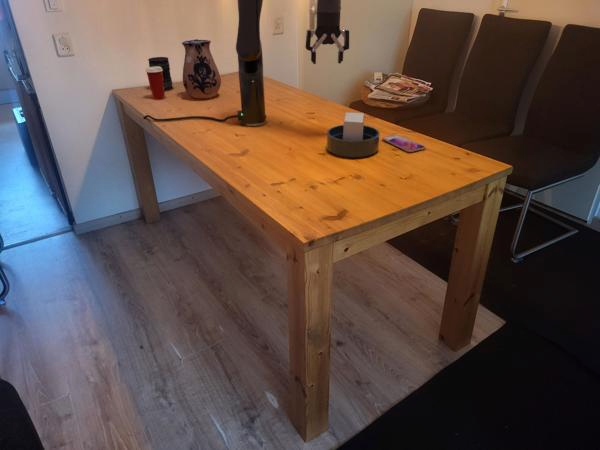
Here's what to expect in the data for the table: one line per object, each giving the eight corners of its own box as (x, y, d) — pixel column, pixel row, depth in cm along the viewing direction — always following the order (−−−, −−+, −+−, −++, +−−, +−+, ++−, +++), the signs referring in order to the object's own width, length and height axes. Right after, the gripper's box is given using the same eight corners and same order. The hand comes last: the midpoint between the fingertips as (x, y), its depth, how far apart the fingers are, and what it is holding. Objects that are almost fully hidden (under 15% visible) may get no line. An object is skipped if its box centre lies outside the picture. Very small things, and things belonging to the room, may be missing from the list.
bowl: (332, 160, 144) (333, 143, 141) (322, 142, 159) (322, 126, 156) (384, 157, 146) (386, 139, 143) (370, 139, 161) (371, 122, 158)
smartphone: (397, 134, 162) (426, 147, 150) (397, 136, 162) (425, 149, 151) (381, 137, 159) (409, 150, 147) (381, 139, 159) (408, 153, 148)
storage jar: (155, 87, 236) (149, 57, 228) (174, 86, 237) (169, 56, 229) (151, 91, 227) (146, 60, 220) (171, 91, 228) (166, 60, 221)
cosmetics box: (361, 153, 147) (363, 121, 142) (341, 152, 148) (342, 121, 143) (362, 142, 156) (364, 112, 151) (344, 141, 157) (345, 111, 151)
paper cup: (170, 97, 218) (165, 67, 211) (158, 100, 212) (153, 70, 205) (159, 95, 221) (154, 65, 214) (147, 98, 216) (141, 68, 209)
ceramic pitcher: (189, 103, 207) (181, 45, 194) (180, 93, 224) (172, 39, 211) (226, 98, 213) (220, 42, 200) (215, 89, 230) (209, 36, 217)
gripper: (348, 9, 147) (345, 61, 156) (304, 9, 146) (304, 61, 154) (353, 11, 141) (349, 65, 149) (308, 11, 139) (307, 66, 148)
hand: (326, 63), depth 152 cm, fingers open, 8 cm apart
